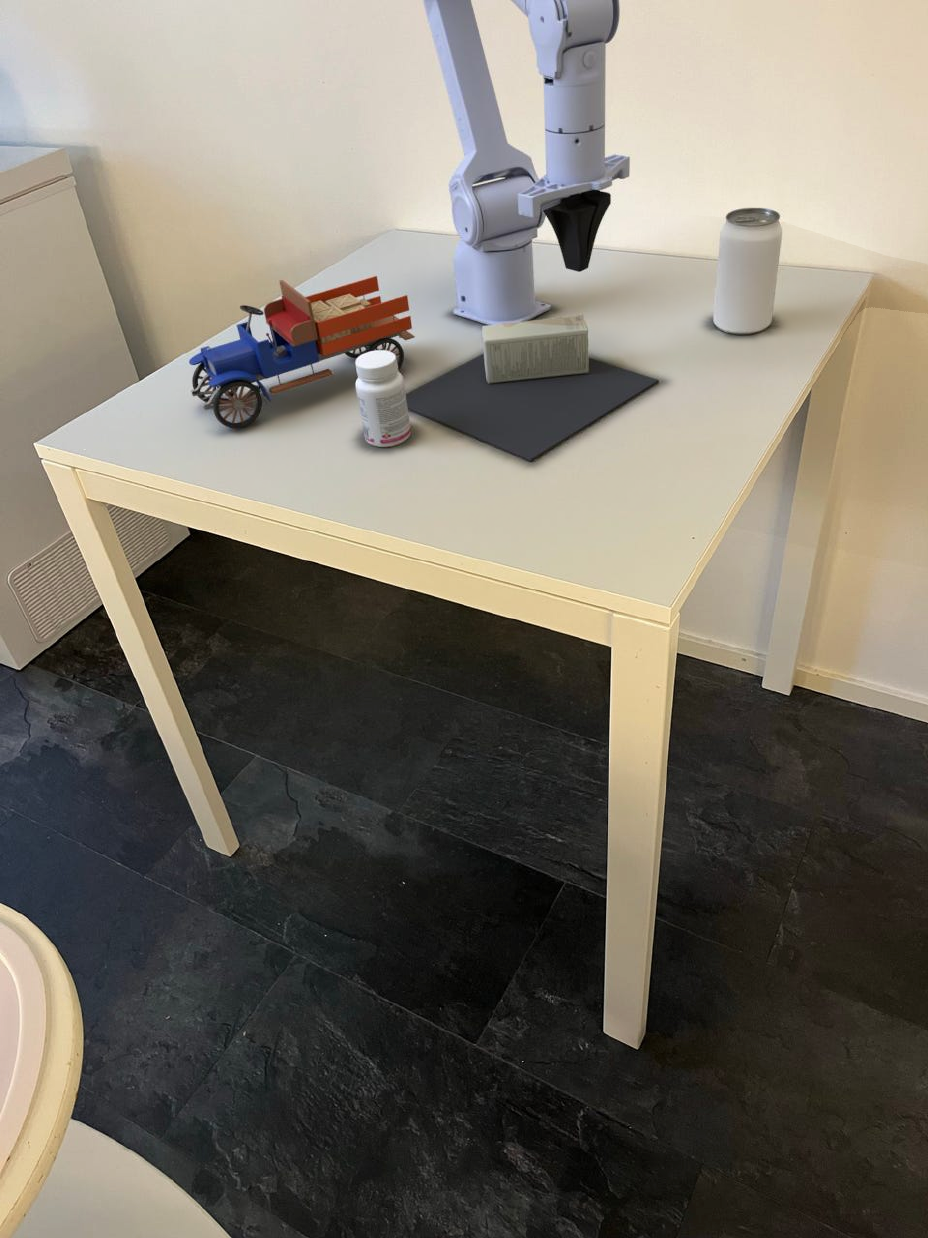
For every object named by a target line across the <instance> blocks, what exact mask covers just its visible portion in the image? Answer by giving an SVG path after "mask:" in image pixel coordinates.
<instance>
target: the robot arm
mask: <svg viewBox="0 0 928 1238" xmlns="http://www.w3.org/2000/svg"><path fill="white" fill-rule="evenodd" d="M510 1H511V2H512V3H513V4H514V5H515V6H516V8H518V9H519V10H520V12H521V13H523V14H524V16H525V17H526V18H527V22H528V27H529V29H528V30H529V33H530V38H531V41H532V43H533V46H534V50H535V55H536V67H537V70H538V74H539V75H540V76H542V77H543V105H544V106H543V108H544V109H543V111H544V113H543V114H544V143H545V145H544V147H545V175H543V176H542V177H540V178H539V176H538V174H537V172H536V170H535V167H534V163H533V160H532V157H531V156H529V154H527V153H524V151H521V150H520V149H518V148H516V147H514V146H513V145H511V144H510V143H509V142H508V139H507V135H506V131H505V127H504V124H503V119H502V114H501V112H500V108H499V105H498V104H499V103H498V101H497V97H496V91H495V89H494V85H493V80H492V76H491V73H490V69H489V65H488V62H487V58H486V53H485V50H484V45H483V42H482V38H481V34H480V30H479V27H478V22H477V19H476V14H475V12H474V7H473V3H472V0H422V3H423V7H424V11H425V15H426V18H427V23H428V24H429V29H430V33H431V36H432V40H433V44H434V48H435V51H436V56H437V59H438V62H439V66H440V70H441V74H442V78H443V80H444V81H443V82H444V84H445V88H446V92H447V96H448V100H449V103H450V107H451V110H452V114H453V118H454V122H455V125H456V129H457V133H458V137H459V140H460V145H461V148H462V151H463V155H464V157H463V158H462V160H461V162H460V163H459V165H458V166H457V168H456V169H455V170H454V172H453V174H452V175H451V177H450V179H449V182H448V191H449V195H450V201H451V216H452V221H453V224H454V228H455V231H456V233H457V235H458V236H459V238H460V241H459V242H458V244H457V246H456V249H455V251H454V256H453V270H454V281H455V291H456V300H457V301H456V302H457V307H456V308H454V309H453V310H452V312H453V314H454V315H456V316H459V317H463V318H465V319H468V320H471V321H475V322H478V323H480V324H484V325H486V326H487V325H496V324H505V323H515V322H524V321H531V320H532V319H535V318H536V317H538V316H540V315H541V314H544V313H545V312H547V311H549V310H551V305H550V304H549V303H545V302H541V301H538V300H536V297H535V296H536V295H535V275H534V274H535V272H534V249H533V240H534V239H537V238H538V236H539V235H538V229H540V228H541V227H542V226H543V225H544V224H545V223H544V222H545V220H546V218H547V220H548V222H549V223H550V225H551V228H552V229H553V232H554V234H555V237H556V239H557V242H558V246H559V248H560V252H561V254H562V259H563V263H564V266H565V269H566V270H570V271H573V272H579V273H580V272H582V271H585V270H587V269H588V268H589V265H590V262H591V257H592V253H593V249H594V245H595V241H596V238H597V235H598V232H599V228H600V226H601V223H602V221H603V219H604V216H605V215H606V212H607V211H608V209H609V207H610V206H611V204H612V195H611V193H610V192H607V191H603V190H605V189H607V188H608V189H609V188H610V187H612V186H613V181H615V180H618V179H620V180H624V179H627V178H629V177H630V171H631V170H630V168H631V167H630V166H631V165H630V164H631V157H630V156H627V155H622V154H615V153H614V154H611V155H608V156H606V67H607V66H606V63H607V62H606V61H607V59H606V55H607V52H606V51H607V49H606V48H607V47H606V46H607V45H608V44H609V43H610V42H611V41H612V40H613V39H614V37H615V36H616V33H617V31H618V28H619V23H620V14H621V13H620V10H621V7H620V0H510Z"/></svg>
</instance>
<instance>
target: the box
mask: <svg viewBox="0 0 928 1238" xmlns="http://www.w3.org/2000/svg"><path fill="white" fill-rule="evenodd" d="M481 336H482V349H483V354H484V361H485V371H486V379H487V382H488V384H491V383H499V382H508V381H518V380H527V379H536V378H545V377H555V376H565V375H575V374H584V373H589V367H588V364H589V358H590V357H589V328H588V326H587V323H586V320H585V318H584V314H579V315H571V316H562V317H561V316H560V317H551V318H543V319H542V318H541V319H533V320H528V321H524V322H515V323H505V324H496V325H487V324H486V325H483V326H482V327H481Z"/></svg>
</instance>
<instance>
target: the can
mask: <svg viewBox="0 0 928 1238" xmlns="http://www.w3.org/2000/svg"><path fill="white" fill-rule="evenodd" d="M780 219H781V214H780V213H779V212H778V211H776V210H774V209H770V208H766V207H742V208H738V209H733V210H732V211H730V212H728V213H727V214H726V215H725V222H724V224H723V225H722V226H721V227H722V228H721V229H720V233H719V234H720V235H719V244H718V256H717V266H716V267H717V268H716V278H715V279H716V280H715V290H714V291H715V293H714V304H713V305H714V306H713V318H712V319H713V320H712V321H713V324H714V325H715V326H716V328H717V329H718V330H719V331H722V332H724V333H727V334H731V335H740V336H741V335H752V334H753V335H754V334H757V333H761V332H762V331H764V330H766V329H767V328H768V327H769V326H770V325H771V324H772V320H773V313H774V307H775V299H776V298H775V297H776V289H777V280H778V273H779V266H780V257H781V250H782V249H781V248H782V239H783V228H782V224H781V222H780Z"/></svg>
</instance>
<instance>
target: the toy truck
mask: <svg viewBox="0 0 928 1238" xmlns="http://www.w3.org/2000/svg"><path fill="white" fill-rule="evenodd" d="M378 280H379V279H378V276H377V275H375V276H371V277H368V278H364V279H362V280H357V281H354V282H351V283H347V284H344V285H341V286H337V287H334V288H331V289H328V290H324V291H321V292H318V293H314V294H310V295H307V296H305V295H303V294H302V293H300V292H299V291H297V289H295V288H294V287H293V286H291V285H290V284H288V283H287V282H286V281H284V279H280V280H279V281H278V282H279V286H280V290H281V298H280V299H276V300H273V301H269V302H268V303H266V304H265V305H264V307H263V310H261V309H259V308H257V307H254V306H251V305H245V304H243V305H240V306H239V309H240V310H241V311H243V312H245V313H248V318H247V321H245V322H242V323H238V324H236V329H237V332H238V336H239V339H236V340H233V341H230V342H227V343H224V344H220V345H218V346H214V347H210V346H208V345H207V346H203V347H200V352H198V353H197V354H195V355H194V356H192V357H191V358H190V359H189V360H188V364H189V365H190V366H191V365H192V366H196V368H195V369H194V372H193V374H192V381H191V382H192V383H191V384H192V388H193V389H191V390H190V393H191V396H192V397H198V398H199V399H200V400H201V401H203V403H202V405H201V406H202V408H203V410H204V411H207V410H212V411H213V414H214V416H215V418H216V419H217V421H218V422H219V423H220V424H221V425H223V426H224V427H226V428H231V429H243V428H246V427H249V426H250V425H251V424H253V423H254V422H255V421H256V420H257V419H258V418H259V417H260V414H261V412H262V409H263V398H264V399H265V400H266V401H268V403H272V399H271V396H270V395H269V393H268V391H267V389H266V387H265V385H264V384H263V383H262V382H261V381H263V380H267V379H271V378H275V377H277V379H278V383H279V384H277V385H274V386H271V387H269V389H268V390H269V392H270V393H271V394H272V395H273V396H274V395H277V394H280V393H283V392H287V391H289V390H292V389H295V388H298V387H301V386H304V385H307V384H311V383H313V382H316V381H317V382H318V381H319V380H323V379H326V378H328V377H332V376H333V375H334V372H333V371H332V370H331V369H330V368H326V369H322V370H320V371H316V372H315V370H314V367H313V364H317V363H320V362H321V361H324V360H327V359H331V358H334V357H337V356H340V355H344V354H345V355H346V356H347V357H349V358H352V359H357V358H358V357H359V356H360V355H362V354H364V353H367V352H370V351H377V350H385V351H390V352H392V353H394V352H395V351H396V350H397V351H398V353H394V354H395V355H396V357H398V359H397V364H398V372H400V370H401V368H402V367H403V365H404V361H405V351H404V349H403V346H402V345H401V343H400V342H399V341H398V340H396V339H394V338H395V337H399V339H403V340H404V341H408V340H411V339H414V338H416V336H415V335H413V334H412V333H410V332H409V331H408V330H411V329H413V324H412V318H411V317H412V316H411V315H408V316H404V317H401V318H399V317H397V315H399V314H402V313H404V312H406V313H407V312H409V311H410V306H409V305H410V304H409V298H408V295H407V294H406V295H402V296H399V297H396V298H392V299H390V300H386V301H383V302H382V299H381V295H378V296H376V297H372V298H369V299H366V298H365V296H366V295H370V294H372V293H376V292H379V291H380V288H379V287H380V286H379V282H378ZM360 297H363V298H361V299H358V298H360ZM253 315H255V316H263V315H264V318H265V322H266V323H265V324H266V325H268V327H269V332H270V333H268V332H266V333H265V336H266V337H267V339H264V340H259V341H258V340H257V339H256V338H255V337H254V336H253V333H252V329H251V321H252V316H253ZM270 335H271V337H270ZM392 345H393V346H394V347H393V348H392V349H391V346H392ZM379 346H381V348H380V349H379V348H378V347H379ZM362 348H364V349H365V350H363V351H362ZM390 349H391V350H390ZM356 350H358V353H357V352H356ZM308 366H311V367H310V368H311V371H312V373H311V374H308V375H305V376H302V377H298V378H295V379H293V380H289V381H285V382H283V383H281V380H280V375H283V374H287V373H289V372H292V371H295V370H298V369H301V368H305V367H308ZM202 371H203V373H205V375H204V376H202V375H200V374H201V373H202ZM199 380H200V381H199ZM253 383H256V384H253ZM206 386H208V387H207V388H206V389H205V390H204V391H201V390H202V388H204V387H206ZM239 388H240V390H239ZM245 388H248V389H249V390H248V391H247V392H246V393H245V394H244V389H245ZM211 389H212V390H211ZM238 390H239V393H238V394H237V392H238ZM243 394H244V396H243ZM206 395H207V396H206ZM253 396H255V397H253ZM262 396H263V397H262ZM230 400H231V401H230ZM255 401H256V403H255V405H251V404H248V403H252V402H255ZM245 408H246V409H245ZM247 409H252V410H254V411H253V413H252V414H251V413H250V412H248V410H247ZM227 410H229V411H228V412H227V413H226V414H225V415H224V416H222V414H221V412H225V411H227ZM242 412H244V414H246V415H247V416H248V418H247V419H245V420H244V417H243V413H242ZM231 414H233V415H232V420H231V421H229V420H227V419H228V418H229V417H230V416H231ZM237 416H239V418H240V422H236V419H237Z"/></svg>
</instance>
